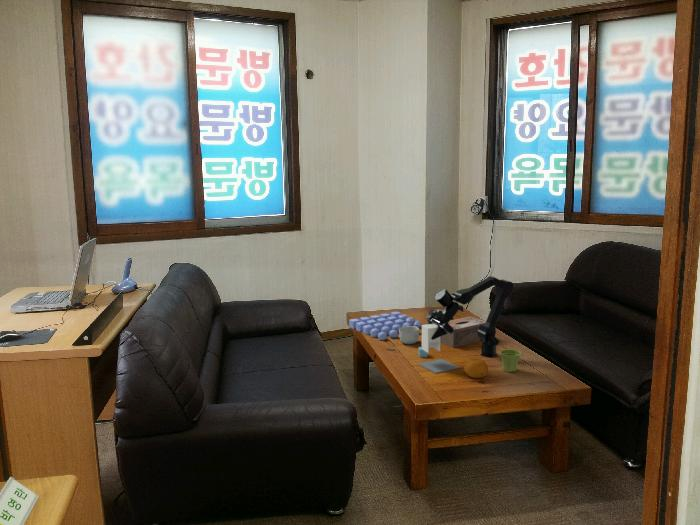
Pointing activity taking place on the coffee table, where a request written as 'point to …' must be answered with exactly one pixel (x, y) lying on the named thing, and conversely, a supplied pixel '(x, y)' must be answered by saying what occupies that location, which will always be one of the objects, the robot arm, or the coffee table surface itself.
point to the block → (422, 352)
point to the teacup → (409, 334)
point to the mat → (439, 366)
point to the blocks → (383, 324)
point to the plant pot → (510, 359)
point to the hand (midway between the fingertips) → (428, 337)
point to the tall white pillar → (429, 337)
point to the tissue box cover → (462, 332)
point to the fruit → (476, 368)
